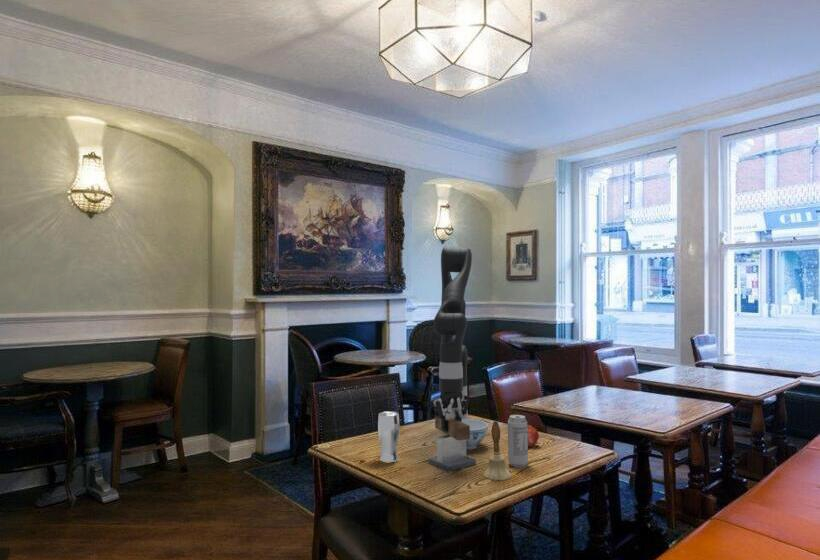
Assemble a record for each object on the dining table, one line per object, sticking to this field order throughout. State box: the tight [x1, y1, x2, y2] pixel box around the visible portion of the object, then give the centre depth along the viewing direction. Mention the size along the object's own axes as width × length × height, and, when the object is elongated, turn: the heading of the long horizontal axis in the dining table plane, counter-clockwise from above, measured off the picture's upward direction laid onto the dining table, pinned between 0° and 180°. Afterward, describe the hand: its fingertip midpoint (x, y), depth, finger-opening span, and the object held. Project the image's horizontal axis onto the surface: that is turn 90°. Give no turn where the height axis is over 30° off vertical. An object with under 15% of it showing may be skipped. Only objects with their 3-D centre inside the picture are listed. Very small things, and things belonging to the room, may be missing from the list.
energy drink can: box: [507, 414, 529, 468], centre depth 161 cm, size 6×6×15 cm
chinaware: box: [462, 418, 489, 450], centre depth 180 cm, size 15×15×8 cm
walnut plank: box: [434, 415, 470, 441], centre depth 162 cm, size 16×4×4 cm, turn 23°
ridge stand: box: [428, 434, 477, 473], centre depth 162 cm, size 10×11×9 cm
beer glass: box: [377, 411, 400, 463], centre depth 166 cm, size 7×7×15 cm
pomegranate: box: [527, 424, 540, 448], centre depth 181 cm, size 7×7×10 cm
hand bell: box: [482, 420, 512, 481], centre depth 152 cm, size 8×8×16 cm
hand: (451, 429), depth 162 cm, fingers closed on walnut plank, 4 cm apart
